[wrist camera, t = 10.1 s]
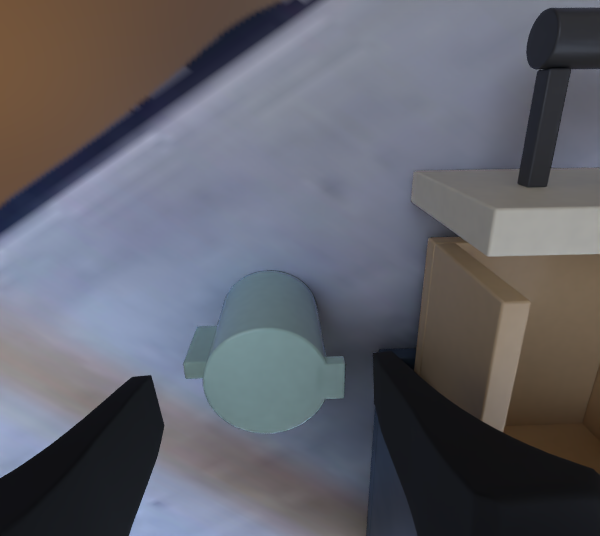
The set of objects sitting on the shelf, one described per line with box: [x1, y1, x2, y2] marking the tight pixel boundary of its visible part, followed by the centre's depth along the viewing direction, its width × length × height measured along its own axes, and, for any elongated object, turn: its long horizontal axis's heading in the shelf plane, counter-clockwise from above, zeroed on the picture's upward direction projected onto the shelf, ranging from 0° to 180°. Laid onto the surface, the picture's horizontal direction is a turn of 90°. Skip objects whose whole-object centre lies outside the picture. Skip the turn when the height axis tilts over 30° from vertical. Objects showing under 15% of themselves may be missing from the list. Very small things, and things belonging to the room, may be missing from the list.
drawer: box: [411, 8, 600, 474], centre depth 14 cm, size 16×10×6 cm, turn 1°
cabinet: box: [366, 348, 600, 536], centre depth 18 cm, size 13×11×8 cm
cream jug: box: [183, 271, 346, 434], centre depth 16 cm, size 6×4×5 cm
